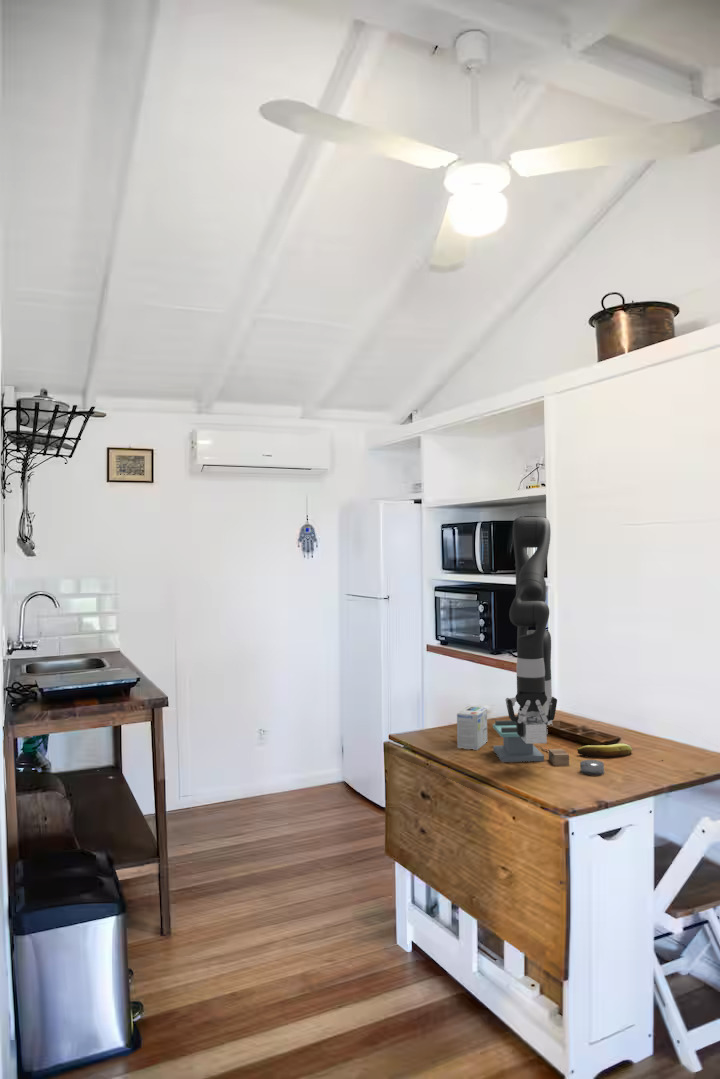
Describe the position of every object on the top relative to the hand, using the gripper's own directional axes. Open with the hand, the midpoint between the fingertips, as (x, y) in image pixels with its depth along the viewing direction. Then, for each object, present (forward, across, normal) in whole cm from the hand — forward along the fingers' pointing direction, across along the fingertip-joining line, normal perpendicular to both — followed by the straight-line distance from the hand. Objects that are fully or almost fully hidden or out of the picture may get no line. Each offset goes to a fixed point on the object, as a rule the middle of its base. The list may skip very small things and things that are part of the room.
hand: (531, 735), depth 201 cm
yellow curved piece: (+10, -25, -13) cm, 30 cm away
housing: (+1, 0, 0) cm, 1 cm away
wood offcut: (+9, -9, -6) cm, 14 cm away
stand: (+9, +1, -13) cm, 16 cm away
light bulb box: (+9, +12, -26) cm, 30 cm away
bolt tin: (+9, -15, +4) cm, 18 cm away
